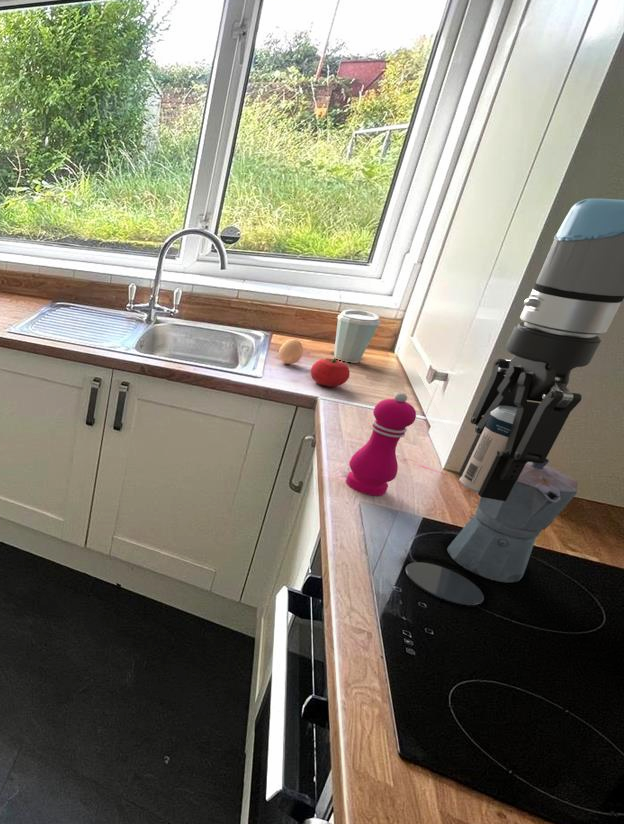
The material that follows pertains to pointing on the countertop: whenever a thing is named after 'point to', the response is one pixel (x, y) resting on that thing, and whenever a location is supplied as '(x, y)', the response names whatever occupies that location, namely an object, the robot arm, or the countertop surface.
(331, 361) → the tomato
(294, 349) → the egg
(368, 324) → the disposable coffee cup
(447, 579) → the slate coaster
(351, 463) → the pepper mill
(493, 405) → the robot arm
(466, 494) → the countertop surface
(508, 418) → the beer can
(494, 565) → the moka pot
